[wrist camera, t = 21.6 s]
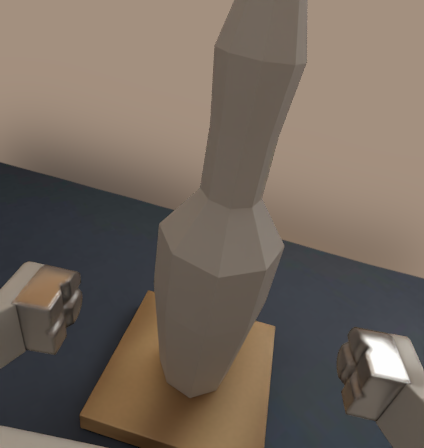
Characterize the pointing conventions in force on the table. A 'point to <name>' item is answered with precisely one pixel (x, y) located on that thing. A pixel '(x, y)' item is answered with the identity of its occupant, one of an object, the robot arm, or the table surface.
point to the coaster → (180, 394)
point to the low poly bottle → (229, 200)
